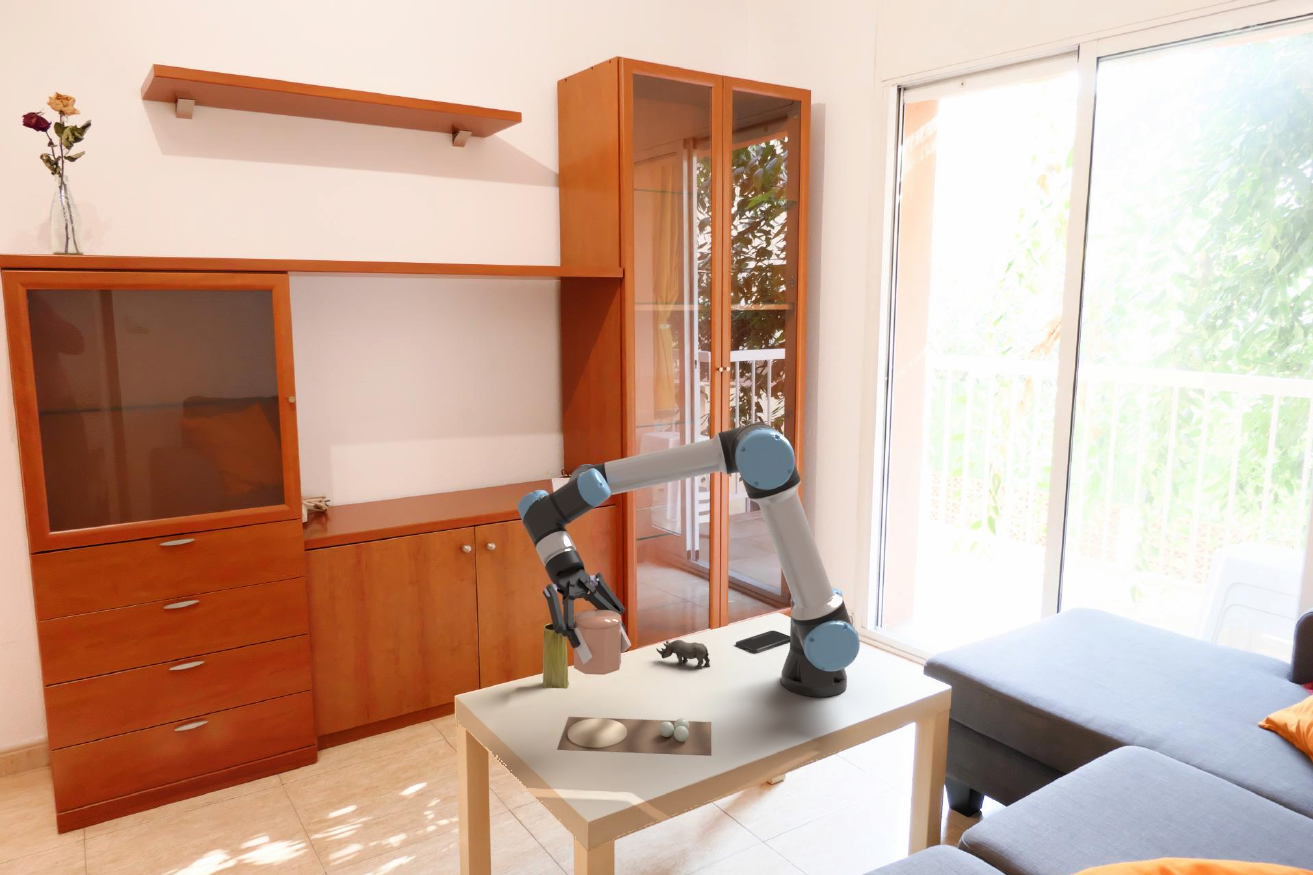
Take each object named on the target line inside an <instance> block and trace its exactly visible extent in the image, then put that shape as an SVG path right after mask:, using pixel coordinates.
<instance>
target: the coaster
mask: <svg viewBox="0 0 1313 875" xmlns="http://www.w3.org/2000/svg"><path fill="white" fill-rule="evenodd" d="M593 718H594V719H587V720H583V721H580V722H577V723H575V724H574V725H572V726H571V727H570V728H569V730H568V738H569V740H570V741H571V742H573V743H574V744H576V745H578V746H582V747H586V748H606V747H610V746H614V745H617V744H619V743H620V742H622V741H623V740H624V739H625V738H626V736H627V729H626V727H625V726H624V725H623V724H621V723H619V722H617V721H614V720H611V719H603V718H604V717H593Z"/></svg>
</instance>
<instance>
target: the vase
mask: <svg viewBox="0 0 1313 875" xmlns="http://www.w3.org/2000/svg"><path fill="white" fill-rule="evenodd" d="M542 655H543V656H542V658H543V663H542V665H543V666H542V684H541V686H542V687H543V689H567V688H569V684H570V682H569V668H568V667H569V666H568V647H567V636H566V637H564V636H563V635H562V633H559V634H556V633H555V631H554V627H553V623H552V622H550V623H545V625H543V654H542Z"/></svg>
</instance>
